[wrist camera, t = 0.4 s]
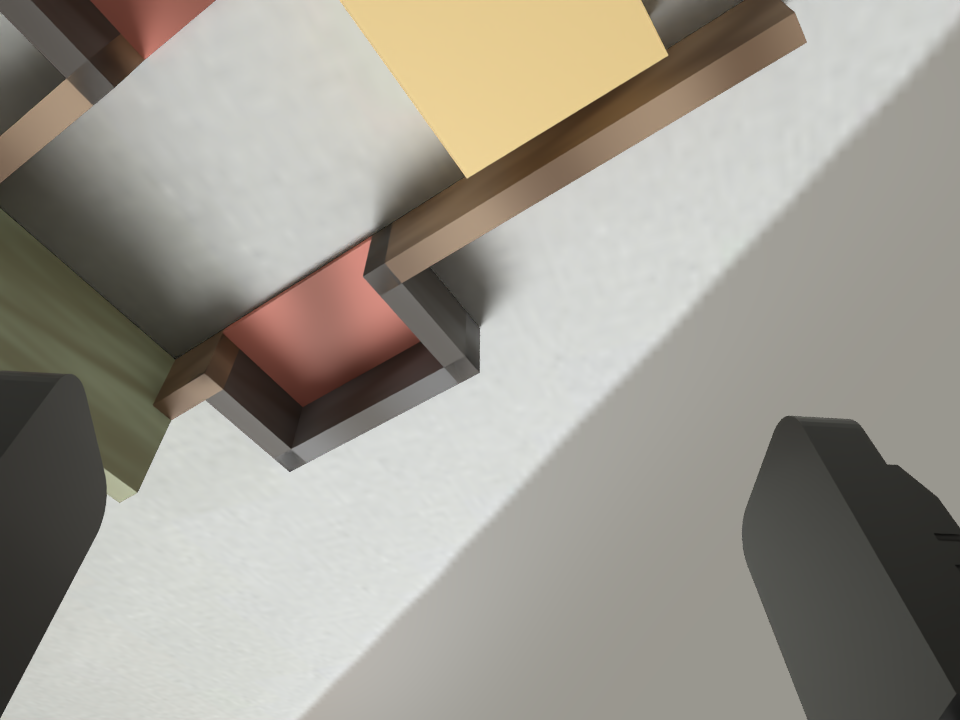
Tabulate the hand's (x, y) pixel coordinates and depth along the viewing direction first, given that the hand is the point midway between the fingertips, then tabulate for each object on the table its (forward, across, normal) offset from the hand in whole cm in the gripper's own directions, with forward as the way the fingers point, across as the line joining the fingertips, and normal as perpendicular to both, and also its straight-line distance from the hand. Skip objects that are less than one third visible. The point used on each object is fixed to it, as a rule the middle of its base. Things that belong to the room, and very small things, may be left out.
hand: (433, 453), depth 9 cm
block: (+21, -1, -2) cm, 21 cm away
